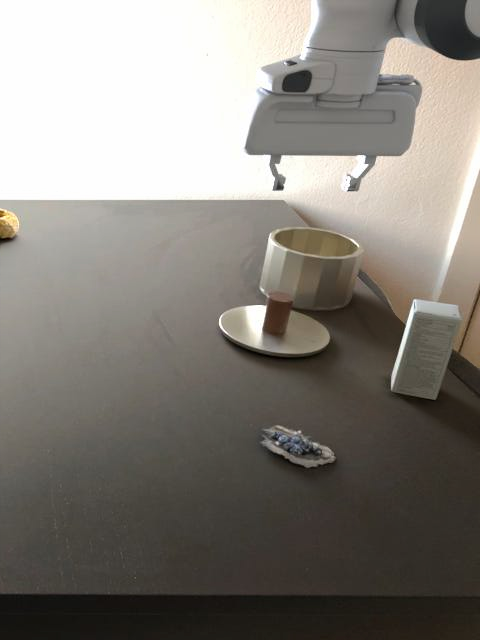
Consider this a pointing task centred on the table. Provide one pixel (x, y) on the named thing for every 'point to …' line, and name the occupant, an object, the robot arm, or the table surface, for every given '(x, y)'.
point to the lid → (274, 328)
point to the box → (425, 348)
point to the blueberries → (296, 446)
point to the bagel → (8, 224)
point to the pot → (312, 267)
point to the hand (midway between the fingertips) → (312, 190)
